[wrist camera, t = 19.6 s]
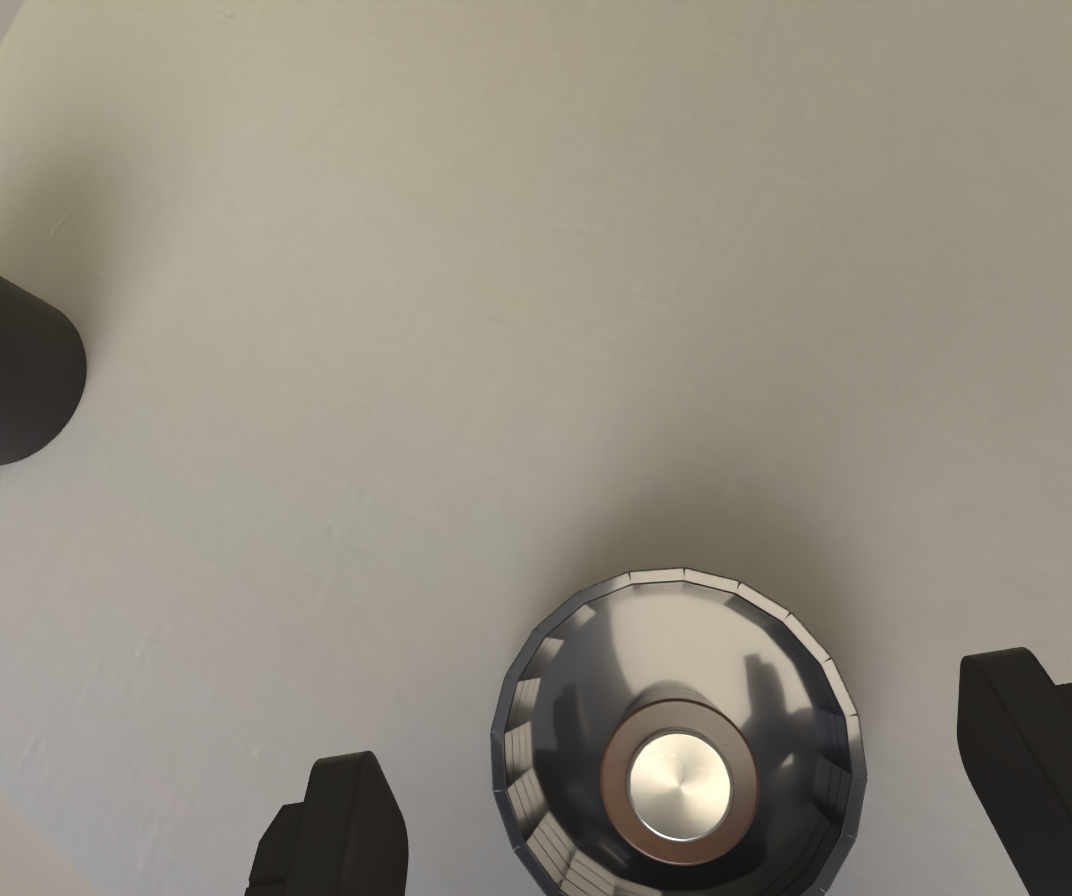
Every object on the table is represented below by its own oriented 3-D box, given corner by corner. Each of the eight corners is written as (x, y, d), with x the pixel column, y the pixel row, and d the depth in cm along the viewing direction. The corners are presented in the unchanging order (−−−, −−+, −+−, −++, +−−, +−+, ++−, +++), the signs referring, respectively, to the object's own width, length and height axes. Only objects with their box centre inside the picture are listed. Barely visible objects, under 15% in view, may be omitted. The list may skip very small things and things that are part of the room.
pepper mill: (668, 834, 25) (672, 913, 18) (591, 737, 26) (563, 771, 19) (758, 756, 25) (800, 801, 18) (679, 663, 26) (686, 665, 19)
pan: (655, 1000, 25) (654, 1045, 22) (445, 717, 27) (420, 724, 25) (916, 771, 25) (949, 786, 22) (685, 513, 28) (688, 496, 25)
